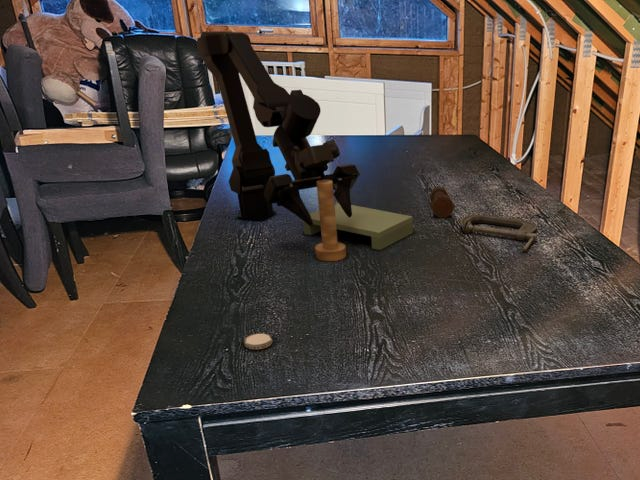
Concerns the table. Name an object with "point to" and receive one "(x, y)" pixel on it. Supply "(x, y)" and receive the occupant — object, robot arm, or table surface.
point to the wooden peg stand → (328, 225)
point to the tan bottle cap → (258, 341)
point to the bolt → (441, 202)
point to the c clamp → (521, 234)
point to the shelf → (368, 224)
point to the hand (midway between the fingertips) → (331, 220)
